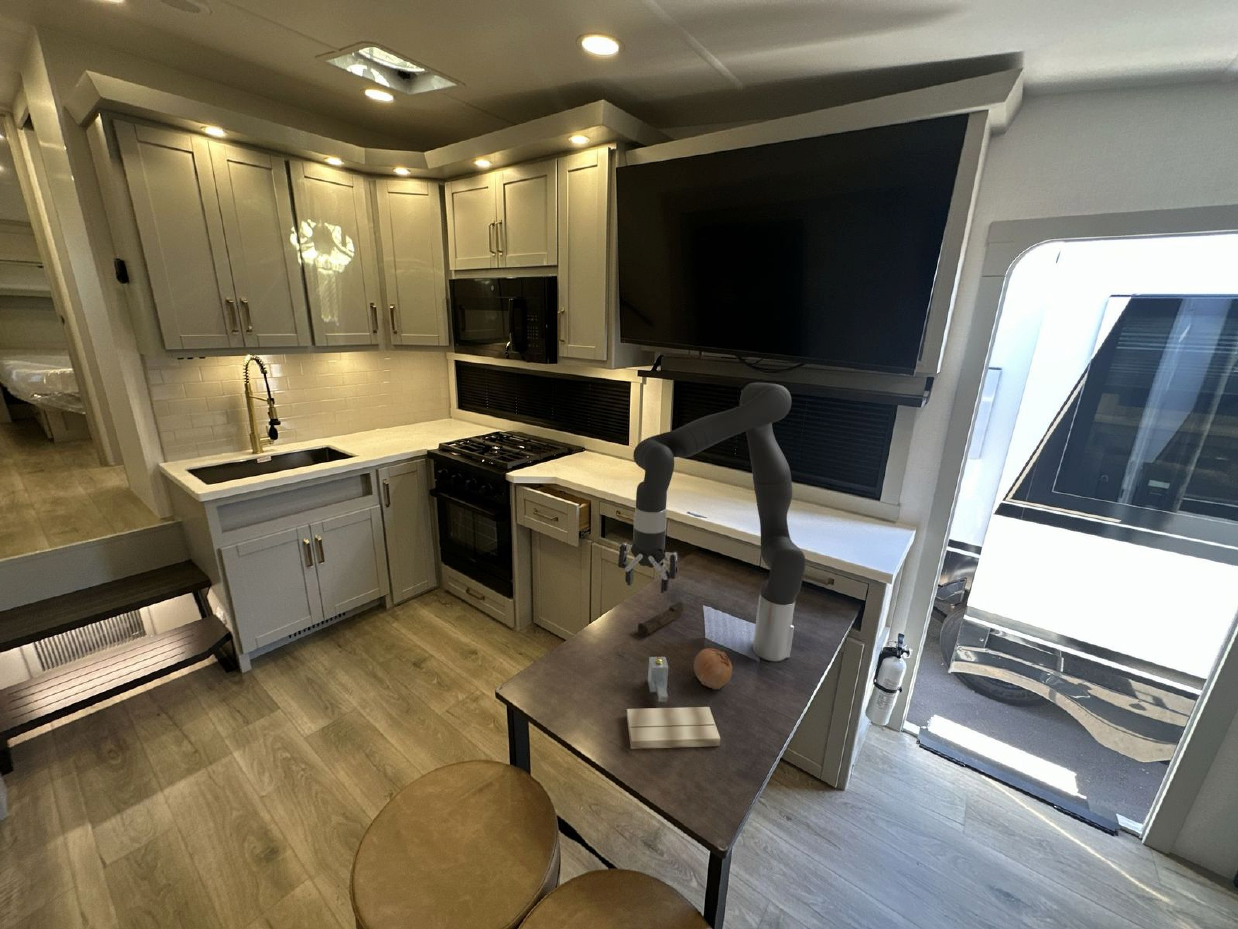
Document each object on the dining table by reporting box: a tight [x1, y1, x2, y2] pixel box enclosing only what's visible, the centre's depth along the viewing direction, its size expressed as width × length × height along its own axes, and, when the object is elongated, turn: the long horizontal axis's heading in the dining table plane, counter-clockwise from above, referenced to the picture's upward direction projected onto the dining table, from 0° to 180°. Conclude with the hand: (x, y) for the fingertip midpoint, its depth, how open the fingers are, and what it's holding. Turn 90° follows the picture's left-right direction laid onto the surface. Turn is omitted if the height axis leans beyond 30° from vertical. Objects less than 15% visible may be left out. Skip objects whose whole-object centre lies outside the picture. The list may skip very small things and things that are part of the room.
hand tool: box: [637, 601, 685, 638], centre depth 147 cm, size 19×4×5 cm, turn 131°
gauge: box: [647, 656, 669, 702], centre depth 117 cm, size 4×10×8 cm, turn 5°
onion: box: [693, 647, 733, 691], centre depth 122 cm, size 10×9×10 cm
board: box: [626, 706, 721, 750], centre depth 108 cm, size 19×9×2 cm, turn 95°
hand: (646, 587), depth 118 cm, fingers open, 8 cm apart
